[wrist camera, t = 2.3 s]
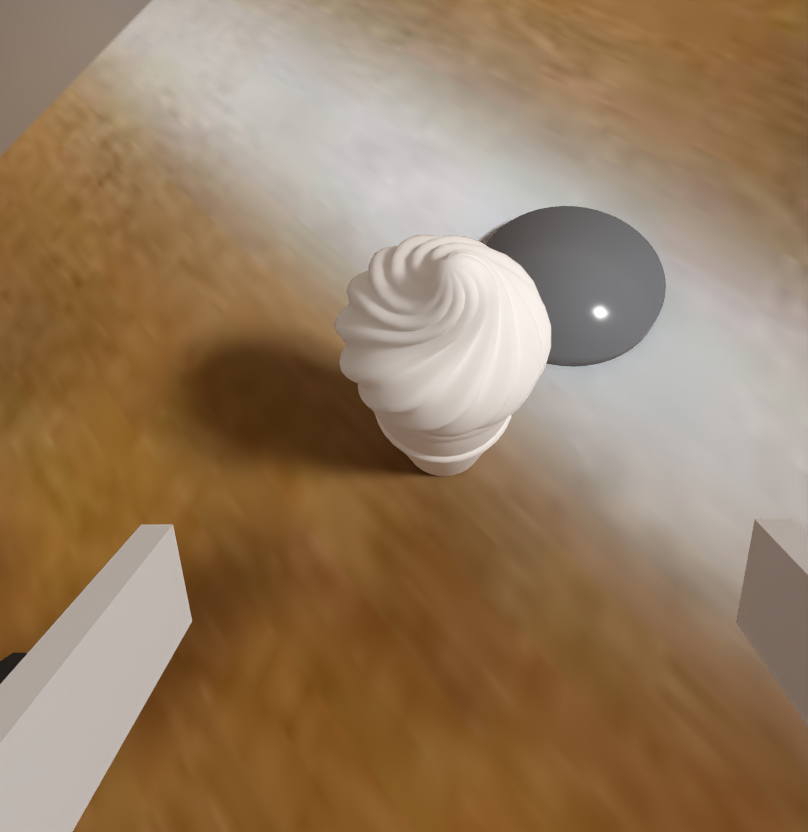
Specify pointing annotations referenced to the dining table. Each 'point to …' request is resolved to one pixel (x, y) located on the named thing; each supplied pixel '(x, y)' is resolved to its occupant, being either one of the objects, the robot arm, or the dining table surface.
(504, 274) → the soft serve ice cream cone
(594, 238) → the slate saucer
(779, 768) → the dining table surface
